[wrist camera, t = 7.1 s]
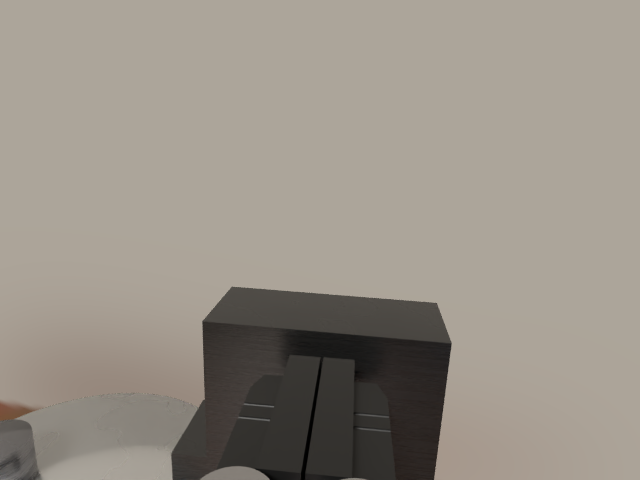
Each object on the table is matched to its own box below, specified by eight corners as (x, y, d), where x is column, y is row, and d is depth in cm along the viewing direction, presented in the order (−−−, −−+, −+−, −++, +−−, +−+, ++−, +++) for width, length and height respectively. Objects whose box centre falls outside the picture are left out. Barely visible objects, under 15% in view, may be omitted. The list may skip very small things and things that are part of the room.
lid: (401, 441, 19) (420, 260, 16) (439, 827, 8) (503, 480, 6) (42, 401, 20) (18, 232, 18) (-296, 685, 10) (-439, 371, 8)
